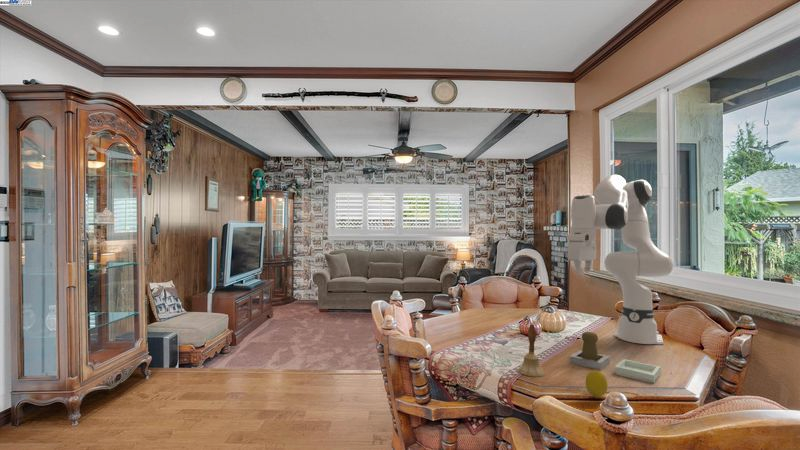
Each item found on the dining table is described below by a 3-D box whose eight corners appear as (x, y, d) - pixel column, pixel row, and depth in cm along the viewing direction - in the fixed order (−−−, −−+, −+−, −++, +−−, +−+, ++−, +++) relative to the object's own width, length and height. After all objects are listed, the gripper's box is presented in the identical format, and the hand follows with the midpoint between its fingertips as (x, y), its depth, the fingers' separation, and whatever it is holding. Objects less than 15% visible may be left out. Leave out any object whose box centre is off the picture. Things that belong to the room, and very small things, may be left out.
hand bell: (541, 369, 131) (542, 322, 132) (546, 378, 123) (546, 328, 123) (516, 367, 133) (517, 321, 133) (519, 376, 125) (520, 326, 125)
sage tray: (623, 366, 135) (623, 358, 135) (660, 374, 128) (660, 366, 128) (614, 374, 127) (614, 366, 127) (653, 383, 120) (653, 375, 120)
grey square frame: (579, 356, 145) (579, 350, 145) (609, 363, 138) (609, 356, 138) (570, 363, 138) (570, 356, 138) (600, 370, 130) (600, 363, 131)
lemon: (593, 402, 105) (594, 373, 105) (581, 394, 111) (581, 366, 111) (612, 401, 106) (612, 372, 106) (598, 393, 112) (598, 365, 112)
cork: (601, 366, 134) (601, 335, 134) (583, 365, 135) (583, 334, 136) (596, 361, 140) (596, 331, 140) (578, 359, 141) (578, 330, 141)
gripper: (584, 236, 158) (584, 270, 157) (564, 236, 143) (564, 273, 143) (600, 236, 153) (600, 271, 153) (582, 236, 139) (582, 274, 138)
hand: (583, 272), depth 148 cm, fingers open, 8 cm apart
